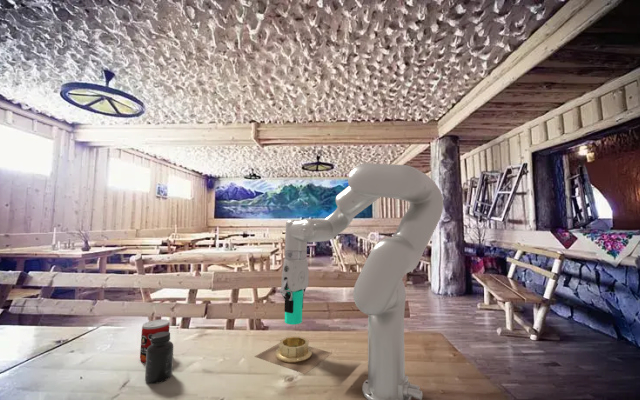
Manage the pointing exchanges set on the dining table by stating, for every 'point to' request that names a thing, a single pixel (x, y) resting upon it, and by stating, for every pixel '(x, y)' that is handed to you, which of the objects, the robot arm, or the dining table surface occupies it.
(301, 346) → the candle holder
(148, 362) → the supplement bottle
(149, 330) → the canned food
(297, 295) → the candle
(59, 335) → the dining table surface
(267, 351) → the walnut board
